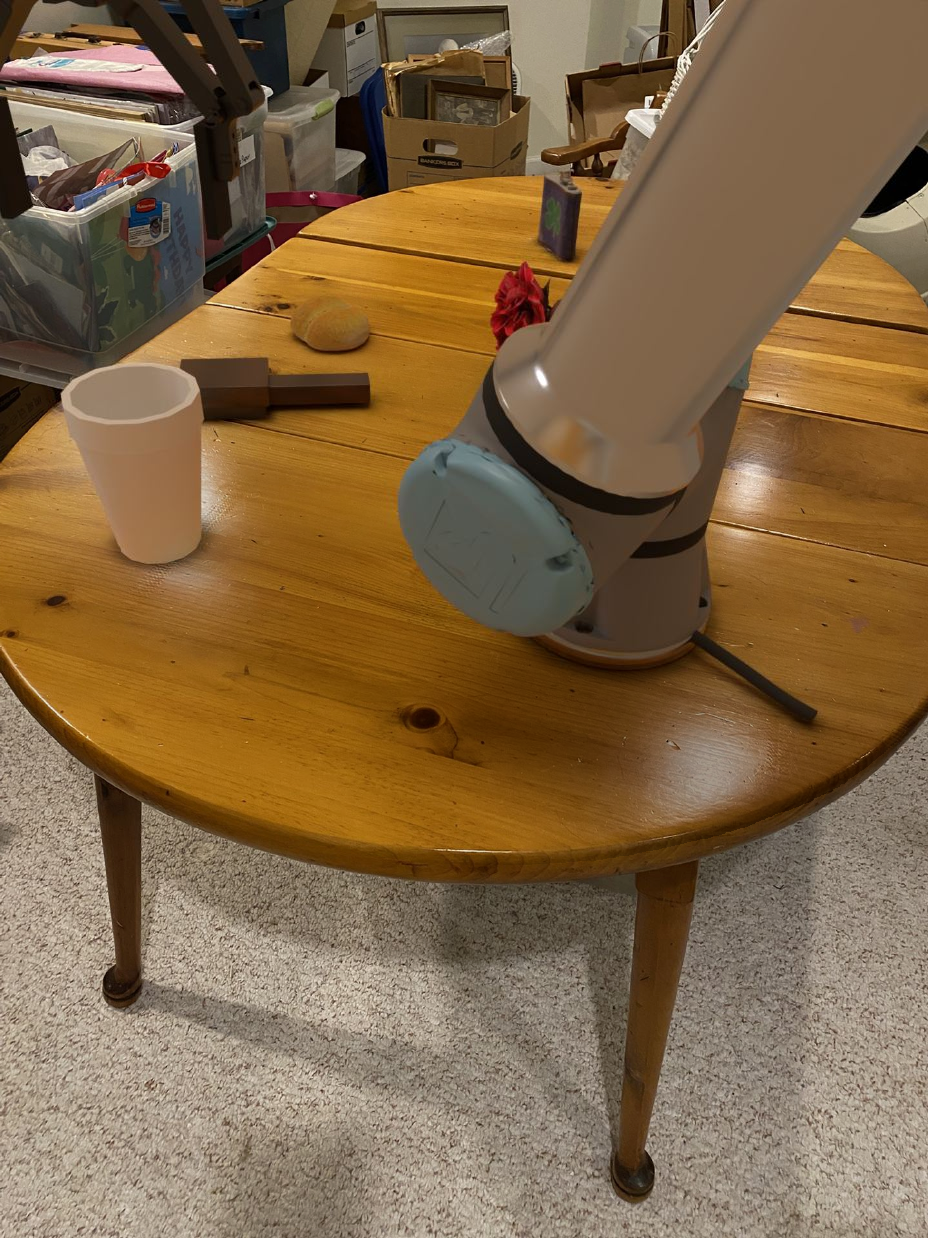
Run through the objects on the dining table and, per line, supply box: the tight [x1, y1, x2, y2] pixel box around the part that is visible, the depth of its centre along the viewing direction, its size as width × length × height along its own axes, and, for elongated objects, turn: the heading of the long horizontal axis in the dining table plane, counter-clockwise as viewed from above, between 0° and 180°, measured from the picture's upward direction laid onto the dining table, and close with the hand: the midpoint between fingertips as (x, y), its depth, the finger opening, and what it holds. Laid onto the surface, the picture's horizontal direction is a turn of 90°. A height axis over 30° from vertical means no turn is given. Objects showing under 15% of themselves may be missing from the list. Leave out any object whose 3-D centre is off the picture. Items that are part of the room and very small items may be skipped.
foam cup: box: [60, 362, 205, 565], centre depth 70 cm, size 10×9×13 cm
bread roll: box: [289, 295, 371, 352], centre depth 103 cm, size 8×9×4 cm
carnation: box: [489, 260, 562, 352], centre depth 102 cm, size 16×18×35 cm
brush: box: [179, 356, 371, 421], centre depth 91 cm, size 18×6×4 cm, turn 99°
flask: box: [537, 168, 583, 263], centre depth 127 cm, size 9×3×11 cm, turn 21°
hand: (118, 223), depth 60 cm, fingers open, 13 cm apart
